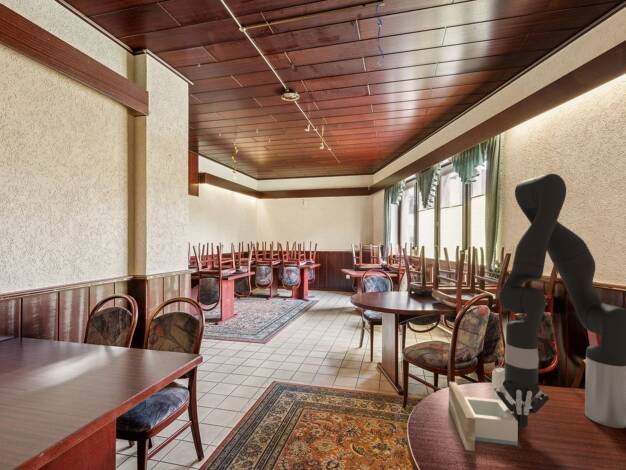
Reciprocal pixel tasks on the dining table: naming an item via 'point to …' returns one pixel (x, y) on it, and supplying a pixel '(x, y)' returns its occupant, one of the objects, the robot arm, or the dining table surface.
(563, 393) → the dining table surface
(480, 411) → the socket block
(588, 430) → the dining table surface
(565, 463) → the dining table surface
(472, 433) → the stop board
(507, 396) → the can
